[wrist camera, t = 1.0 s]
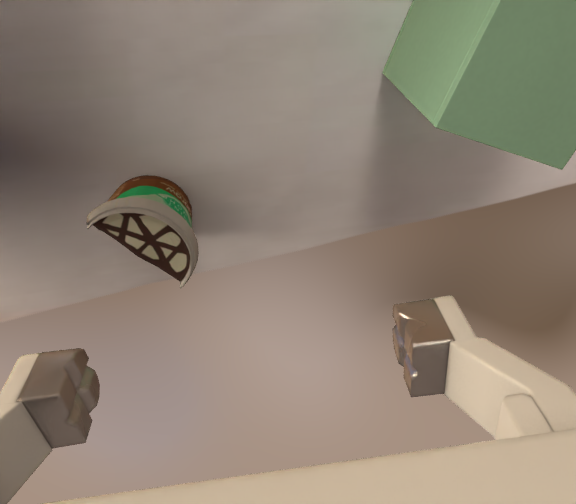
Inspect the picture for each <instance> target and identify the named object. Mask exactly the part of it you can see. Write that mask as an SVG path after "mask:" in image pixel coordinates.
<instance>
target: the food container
mask: <svg viewBox="0 0 576 504" xmlns="http://www.w3.org/2000/svg"><path fill="white" fill-rule="evenodd" d="M86 224H87V225H88V227H87V229H88V228H89V227H90V226H92V225H93V226H95V227H96V228H97V229H99V230H101V231H103V232H105V233H106V234H108V235H109V236H111V237H112V238H114V239H115V240H117V241H118V242H120V243H121V244H122V245H123V246H125V247H126V248H127V249H129V250H130V251H131V252H133V253H134V254H135V255H137V256H138V257H140V258H142V259H143V260H145V261H147V262H149V263H151V264H153V265H155V266H157V267H159V268H160V269H162V270H163V271H165V272H166V273H168V274H170V275H171V276H173V277H174V278H176V279H177V280H179V281H180V288H182V286H184V285H185V284H186V282H187V281H188V280H189V278H190V276H191V275H192V273H193V271H194V269H195V266H196V263H197V260H198V243H197V239H196V236H195V234H194V232H193V230H192V207H191V205H190V202H189V199H188V197H187V195H186V194H185V193H184V191H183V190H182V189H181V188H180V187H179V186H178V185H176V184H175V183H173V182H172V181H170V180H168V179H165V178H162V177H158V176H139V177H135V178H132V179H130V180H128V181H126V182H125V183H123V184H122V185H121V186H120V187H119V188H118V189H117V190H116V191H115V192H114V194H113V195H112V196H111V197H110V199H109V200H108V201H107V202H106V203H103V204H101V205H100V206H98V207H97V208H95V209H94V210H92V211H91V212H90V213H89V214H88V215H87V222H86Z"/></svg>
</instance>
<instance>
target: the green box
mask: <svg viewBox="0 0 576 504" xmlns="http://www.w3.org/2000/svg"><path fill="white" fill-rule="evenodd" d="M382 73H383V74H384V75H385V76H386V77H387V78H388V79H389V80H390V81H391V82H392V83H393V84H394V85H395V86H396V87H397V88H398V89H399V91H400V92H401V93H402V94H403V95H404V96H405V97H406V98H407V99H408V100H409V101H410V102H411V103H412V104H413V105H414V106H415V107H416V108H417V109H418V110H419V111H420V112H421V113H422V114H423V115H424V116H425V117H426V118H427V119H428V120H429V121H430V122H431V123H432V124H433V125H434V126H435V127H436V128H438V129H441V130H444V131H447V132H450V133H453V134H456V135H459V136H462V137H465V138H468V139H471V140H474V141H477V142H480V143H483V144H486V145H489V146H492V147H495V148H498V149H501V150H504V151H507V152H510V153H513V154H516V155H519V156H522V157H525V158H528V159H531V160H534V161H537V162H540V163H543V164H546V165H549V166H552V167H555V168H558V169H561V170H562V169H563V168H564V166H565V165H566V164H567V162H568V161H569V159H570V158H571V156H572V155H573V153H574V152H575V150H576V0H413V2H412V4H411V6H410V9H409V11H408V13H407V16H406V18H405V20H404V23H403V25H402V27H401V30H400V32H399V34H398V37H397V39H396V42H395V44H394V46H393V49H392V51H391V53H390V56H389V58H388V60H387V63H386V65H385V67H384V70H383V72H382Z"/></svg>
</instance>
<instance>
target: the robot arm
mask: <svg viewBox="0 0 576 504" xmlns="http://www.w3.org/2000/svg"><path fill="white" fill-rule="evenodd" d="M393 318H394V320H395V323H396V325H395V326H394V328H393V342H394V349H395V353H396V356H397V360H398V362H399V364H400V365H402V366H403V367H404V379H405V382H406V385H407V387H408V390H409V393H410V395H411V397H418V396H426V395H435V394H444V393H445V396H446V397H447V398H448V399H450V400H451V401H452V402H453V403H454V404H456V405H457V406H458V407H459V408H460V409H461V410H463V411H464V412H465V413H466V414H467V415H468V416H470V417H471V418H472V419H473V420H474V421H476V422H477V423H478V424H479V425H480V426H481V427H483V428H484V429H485V430H486V431H487V432H488V433H490V434H491V435H492V436H493V437H494V438H495V439H494V440H492V441H485V442H478V443H470V444H463V445H456V446H449V447H442V448H435V449H428V450H420V451H413V452H407V453H399V454H392V455H385V456H378V457H370V458H363V459H356V460H350V461H342V462H335V463H328V464H321V465H313V466H306V467H299V468H292V469H285V470H278V471H270V472H263V473H256V474H249V475H242V476H235V477H228V478H221V479H214V480H206V481H199V482H192V483H185V484H178V485H171V486H164V487H157V488H150V489H142V490H135V491H128V492H121V493H114V494H107V495H99V496H93V497H85V498H78V499H71V500H64V501H57V502H50V503H42V504H576V394H575V393H574V391H573V390H572V389H571V387H570V386H569V385H567V384H565V383H564V382H562V381H560V380H558V379H557V378H555V377H553V376H551V375H549V374H548V373H546V372H544V371H542V370H541V369H539V368H537V367H535V366H533V365H532V364H530V363H528V362H526V361H524V360H523V359H521V358H519V357H517V356H516V355H514V354H512V353H510V352H509V351H507V350H505V349H503V348H501V347H500V346H498V345H496V344H494V343H493V342H490V341H489V340H487V339H485V338H484V337H481V338H477V336H476V334H475V333H474V331H473V330H472V328H471V326H470V324H469V322H468V321H467V319H466V317H465V316H464V314H463V312H462V310H461V309H460V307H459V305H458V304H457V302H456V300H455V298H454V297H452V296H451V295H450V296H444V297H438V298H432V299H426V300H420V301H413V302H406V303H399V304H394V306H393ZM88 359H89V358H88V356H87V354H86V352H85V350H84V349H81V348H76V349H68V350H59V351H51V352H42V353H37V354H28V355H23V356H21V357H20V358H19V359H18V360H17V362H16V364H15V366H14V368H13V370H12V372H11V374H10V376H9V377H8V379H7V381H6V383H5V385H4V387H3V389H2V391H1V393H0V504H7V503H8V502H9V501H10V500H11V498H12V497H13V496H14V495H15V494H16V493H17V491H18V490H19V489H20V488H21V487H22V485H23V484H24V483H25V482H26V481H27V480H28V478H29V477H30V476H31V475H32V474H33V472H34V471H35V470H36V469H37V468H38V467H39V465H40V464H41V463H42V462H43V461H44V459H45V458H46V457H47V456H48V455H49V454H50V452H51V451H52V448H57V447H63V446H69V445H75V444H81V443H85V442H86V439H87V436H88V433H89V430H90V426H91V423H92V419H91V417H90V415H89V413H90V412H91V411H92V410H93V409H94V408H95V407H96V406H97V403H98V399H99V387H100V385H99V380H98V376H97V374H96V372H95V370H93V369H92V368H90V367H88V366H87V362H88Z"/></svg>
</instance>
